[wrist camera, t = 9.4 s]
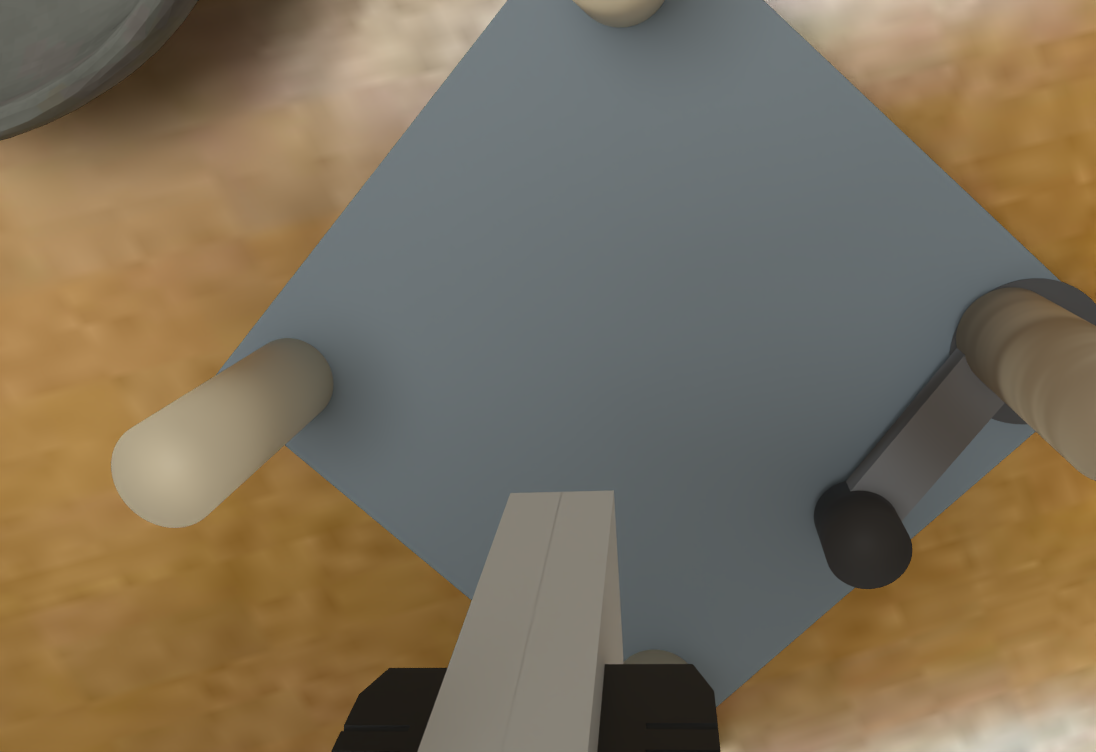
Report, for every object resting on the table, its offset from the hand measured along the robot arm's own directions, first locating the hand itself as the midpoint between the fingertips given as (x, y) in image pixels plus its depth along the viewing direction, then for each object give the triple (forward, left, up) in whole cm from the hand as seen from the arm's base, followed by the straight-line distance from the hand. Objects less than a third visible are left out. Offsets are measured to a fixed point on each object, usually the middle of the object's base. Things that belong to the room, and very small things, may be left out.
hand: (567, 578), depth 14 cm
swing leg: (+4, -9, -16) cm, 18 cm away
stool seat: (-1, -1, -19) cm, 19 cm away
